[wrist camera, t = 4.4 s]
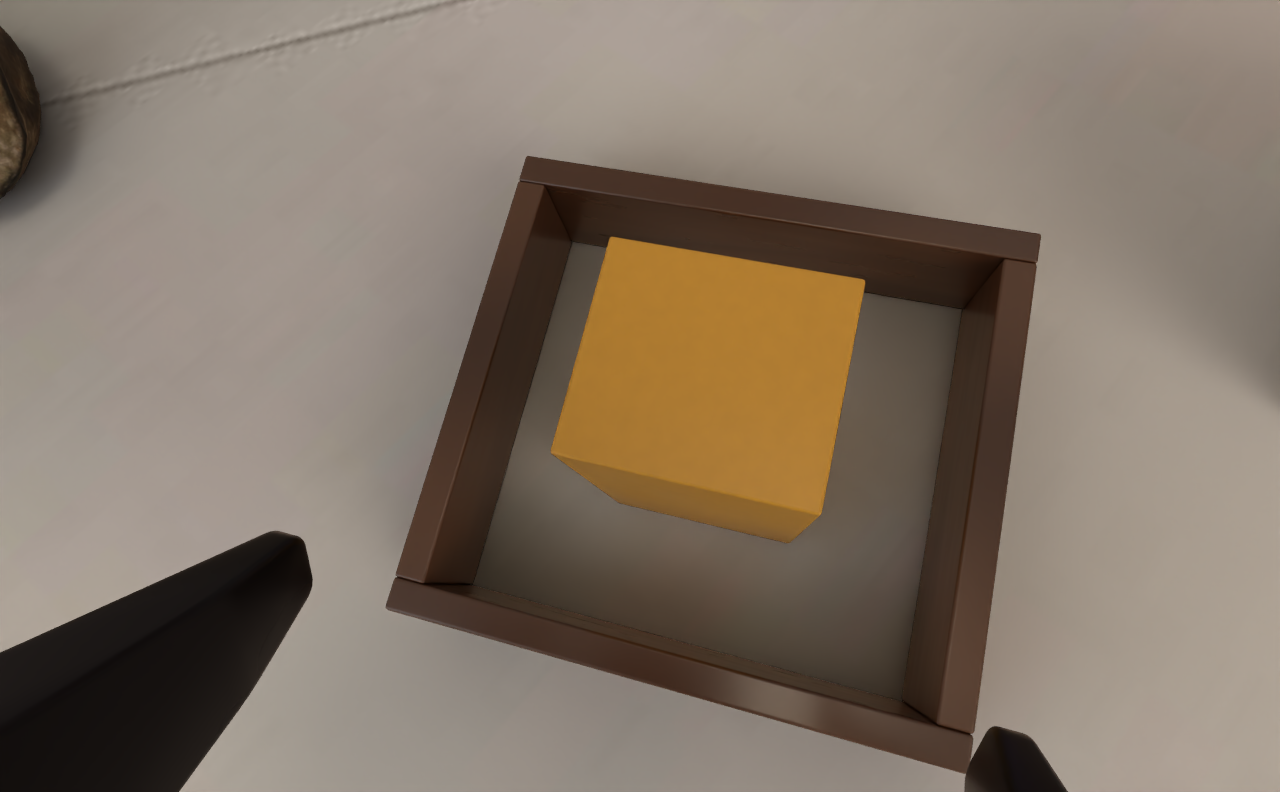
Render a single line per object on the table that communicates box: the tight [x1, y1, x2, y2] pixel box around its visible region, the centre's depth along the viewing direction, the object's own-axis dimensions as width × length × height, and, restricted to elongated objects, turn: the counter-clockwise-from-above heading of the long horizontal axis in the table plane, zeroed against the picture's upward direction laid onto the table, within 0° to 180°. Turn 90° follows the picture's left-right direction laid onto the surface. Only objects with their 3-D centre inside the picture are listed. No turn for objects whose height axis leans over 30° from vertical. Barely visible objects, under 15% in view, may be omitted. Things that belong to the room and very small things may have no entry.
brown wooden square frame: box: [386, 156, 1041, 774], centre depth 20 cm, size 13×14×4 cm
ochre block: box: [551, 237, 865, 543], centre depth 17 cm, size 4×5×8 cm
